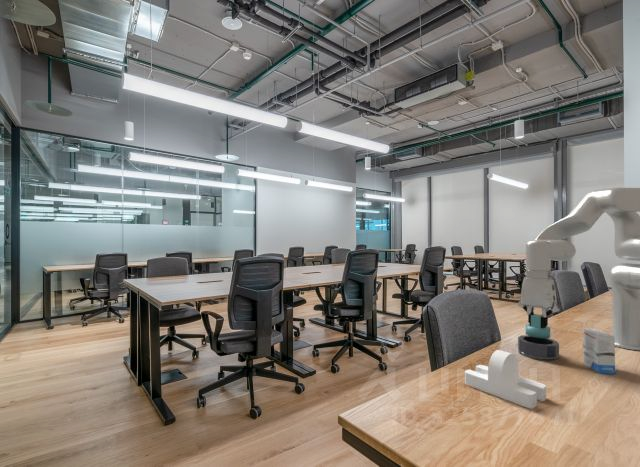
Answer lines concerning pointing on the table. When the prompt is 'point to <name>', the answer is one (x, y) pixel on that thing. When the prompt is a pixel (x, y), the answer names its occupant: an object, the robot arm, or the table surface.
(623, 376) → the table surface
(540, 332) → the cap
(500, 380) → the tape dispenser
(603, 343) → the ink box
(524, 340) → the grey round hollow piece
